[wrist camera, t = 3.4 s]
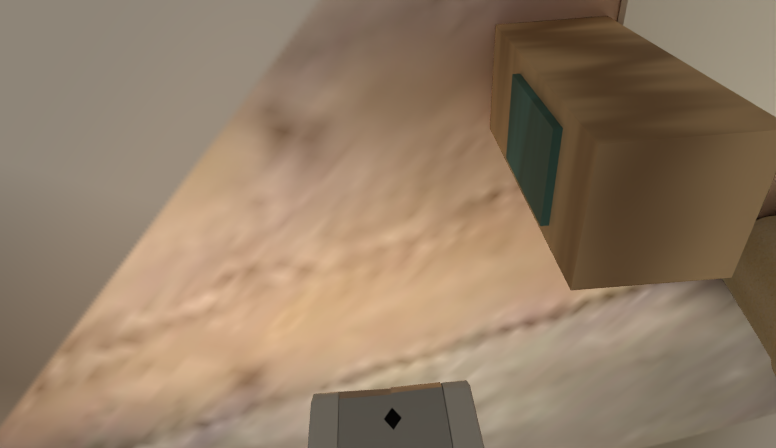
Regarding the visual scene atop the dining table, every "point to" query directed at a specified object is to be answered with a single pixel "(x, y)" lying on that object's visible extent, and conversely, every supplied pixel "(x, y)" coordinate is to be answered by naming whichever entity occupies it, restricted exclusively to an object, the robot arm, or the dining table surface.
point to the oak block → (627, 153)
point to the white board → (715, 40)
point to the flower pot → (758, 283)
